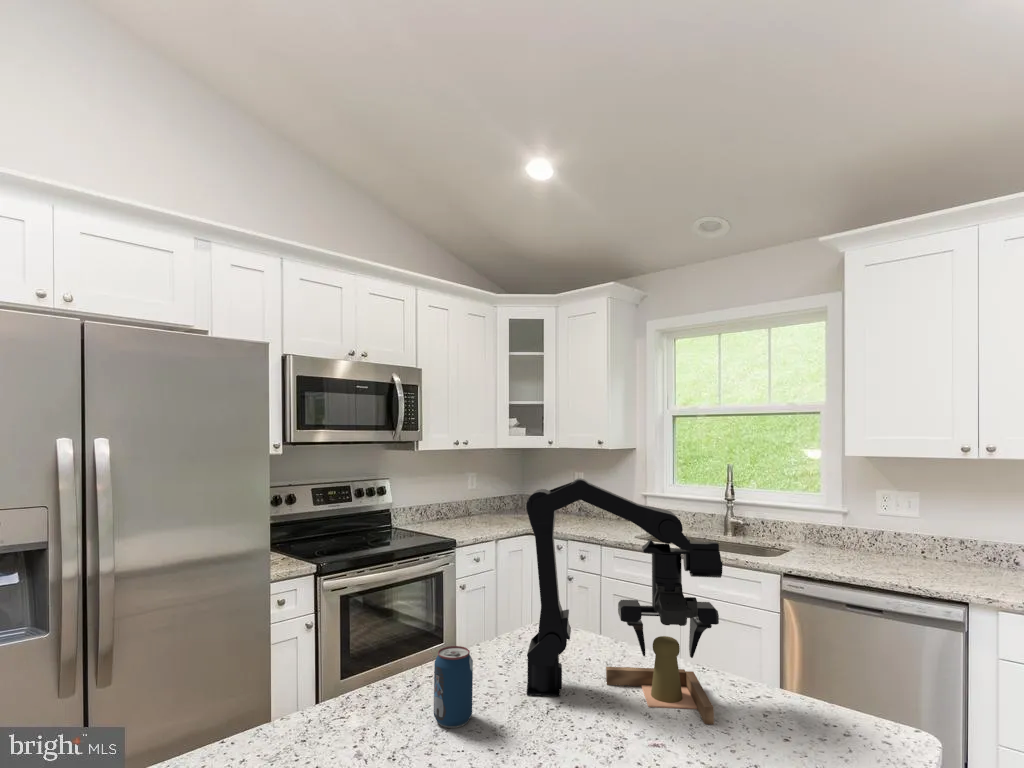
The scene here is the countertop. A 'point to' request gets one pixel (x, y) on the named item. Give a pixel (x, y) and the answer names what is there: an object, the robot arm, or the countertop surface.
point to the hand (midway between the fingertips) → (667, 656)
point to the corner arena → (643, 677)
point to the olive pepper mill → (666, 670)
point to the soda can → (453, 686)
